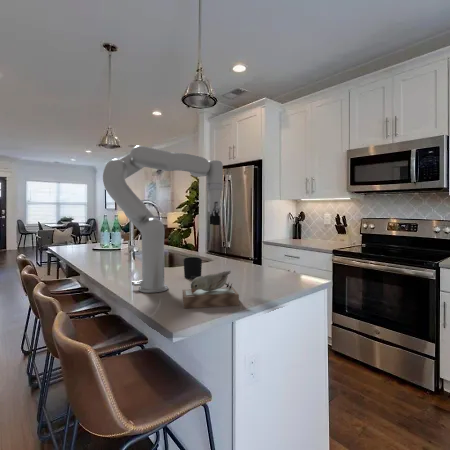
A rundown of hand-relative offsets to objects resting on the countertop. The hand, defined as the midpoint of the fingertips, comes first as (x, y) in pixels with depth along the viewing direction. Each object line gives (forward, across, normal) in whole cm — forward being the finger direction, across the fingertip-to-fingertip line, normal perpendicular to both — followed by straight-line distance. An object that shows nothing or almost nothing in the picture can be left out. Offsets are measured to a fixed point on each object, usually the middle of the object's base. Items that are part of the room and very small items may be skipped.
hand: (214, 224), depth 145 cm
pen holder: (+29, -18, -9) cm, 35 cm away
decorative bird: (+24, +28, -5) cm, 37 cm away
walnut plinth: (+28, +28, -6) cm, 40 cm away
